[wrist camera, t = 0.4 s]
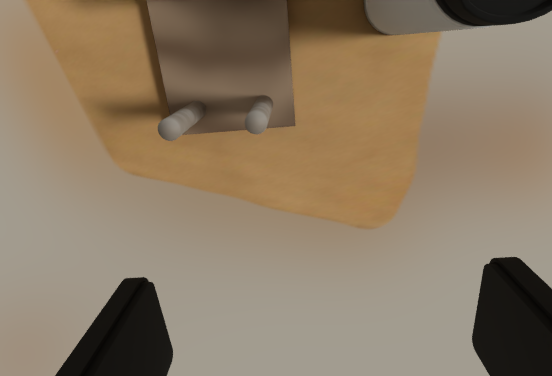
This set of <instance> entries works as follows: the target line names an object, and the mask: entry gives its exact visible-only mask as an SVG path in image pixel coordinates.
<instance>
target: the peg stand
mask: <svg viewBox="0 0 552 376" xmlns="http://www.w3.org/2000/svg"><path fill="white" fill-rule="evenodd" d="M146 1H147V6H148V10H149V15H150V20H151V25H152V30H153V35H154V39H155V44H156V49H157V54H158V59H159V64H160V68H161V73H162V78H163V83H164V88H165V93H166V97H167V102H168V107H169V112H170V116H168V117H167V118H165V119H163V120H162V121H160V123H159V125H158V132H159V134H160V136H161V137H162V138H163V139H165V140H168V141H173V140H176V139H177V138H178V137H179V136H181V135H187V134H200V133H212V132H225V131H238V130H248V131H249V132H250V133H253V134H260V133H262V132H264V131H265V129H266V128H276V127H289V126H295V114H294V100H293V85H292V70H291V55H290V40H289V25H288V10H287V0H146Z"/></svg>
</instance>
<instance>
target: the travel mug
mask: <svg viewBox="0 0 552 376" xmlns="http://www.w3.org/2000/svg"><path fill="white" fill-rule="evenodd" d="M364 10H365V14H366V17H367V19H368V21H369V23H370V24H371V25H372V26H373V27H374V28H375V29H376V30H378V31H379V32H381V33H383V34H388V35H402V34H414V33H426V32H438V31H449V30H462V29H473V28H485V27H490V26H494V25H506V24H516V23H520V22H525V21H530V20H532V19H535V18H537V17H540V16H542V15H545V14H546V13H548V12H550V11H552V0H364Z"/></svg>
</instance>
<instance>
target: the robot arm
mask: <svg viewBox="0 0 552 376" xmlns="http://www.w3.org/2000/svg"><path fill="white" fill-rule="evenodd" d="M472 342H473V346H474V349H475V351H476V353H477V355H478V357H479V358H480V360H481V362H482V363H483V365H484V367H485V368H486V370H487V372H488V373H489V375H490V376H552V289H551V288H550V287H549V286H548V285H547V284H546V283H545V282H544V281H543V280H542V279H541V278H540V277H539V276H538V275H536V274H535V273H534V272H533V271H532V270H531V269H530V268H529V267H528V266H527V265H526V264H525V263H524V262H523V261H522V260H521V259H519V258H517V257H505V258H493V259H492V260H491V261H490V263H489V264H486V265H485V266H484V269H483V275H482V281H481V287H480V293H479V299H478V305H477V311H476V317H475V323H474V329H473V336H472ZM172 358H173V349H172V345H171V342H170V338H169V335H168V331H167V329H166V325H165V321H164V317H163V314H162V311H161V307H160V304H159V300H158V297H157V293H156V290H155V287H154V284H153V283H152V282H148V280H147V278H144V277H142V278H126V279H124V280H123V281H122V282H121V284H120V285H119V286H118V288H117V290H116V291H115V292H114V294H113V295H112V296H111V298H110V299H109V301H108V302H107V304H106V305H105V306H104V308H103V309H102V310H101V312H100V313H99V315H98V316H97V318H96V319H95V320H94V322H93V323H92V325H91V326H90V327H89V329H88V330H87V332H86V333H85V335H84V336H83V337H82V339H81V340H80V341H79V343H78V344H77V346H76V347H75V349H74V350H73V351H72V353H71V354H70V356H69V357H68V358H67V360H66V361H65V363H64V364H63V365H62V367H61V368H60V370H59V371H58V372H57V374H56V375H55V376H167V373H168V370H169V368H170V365H171V362H172Z"/></svg>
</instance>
